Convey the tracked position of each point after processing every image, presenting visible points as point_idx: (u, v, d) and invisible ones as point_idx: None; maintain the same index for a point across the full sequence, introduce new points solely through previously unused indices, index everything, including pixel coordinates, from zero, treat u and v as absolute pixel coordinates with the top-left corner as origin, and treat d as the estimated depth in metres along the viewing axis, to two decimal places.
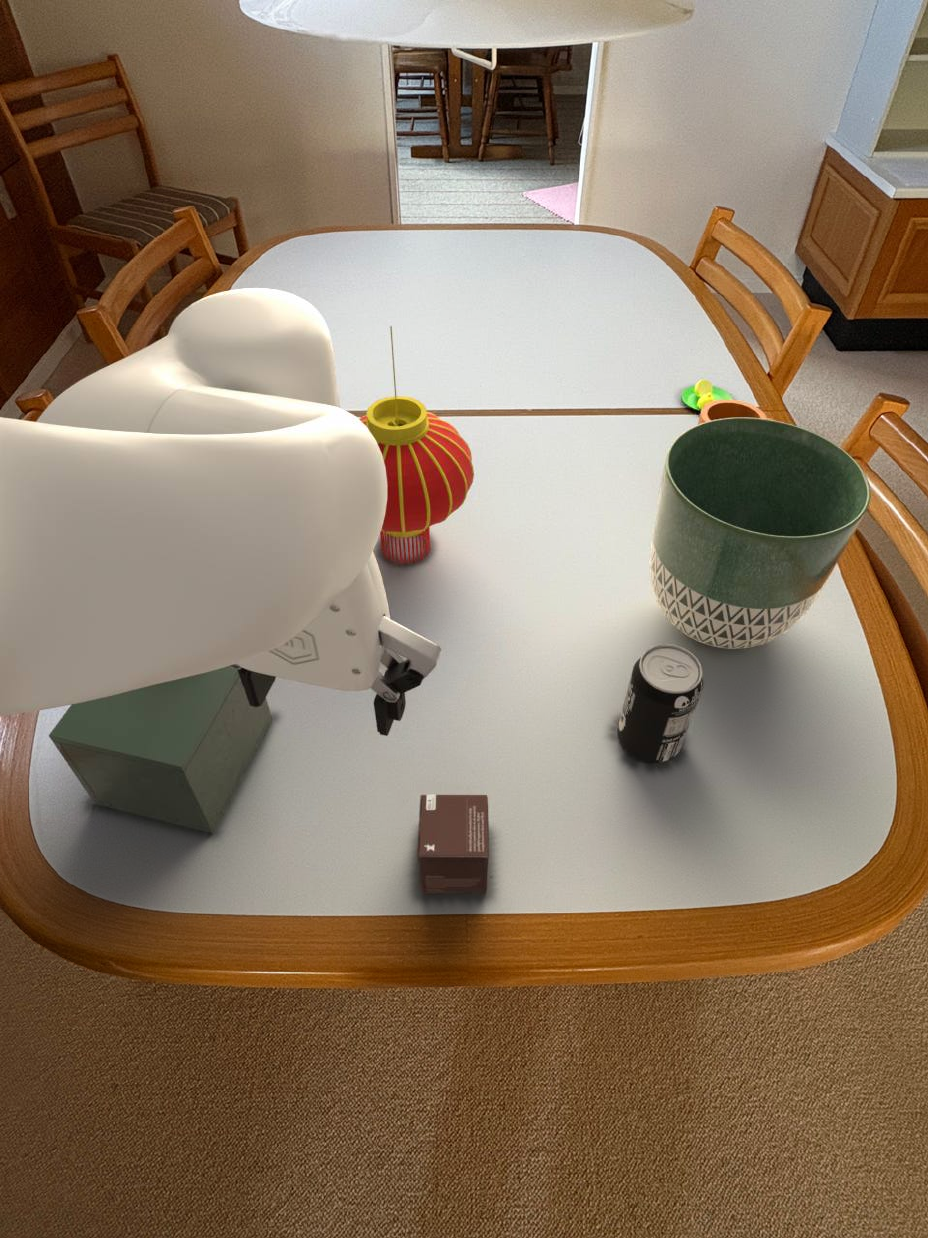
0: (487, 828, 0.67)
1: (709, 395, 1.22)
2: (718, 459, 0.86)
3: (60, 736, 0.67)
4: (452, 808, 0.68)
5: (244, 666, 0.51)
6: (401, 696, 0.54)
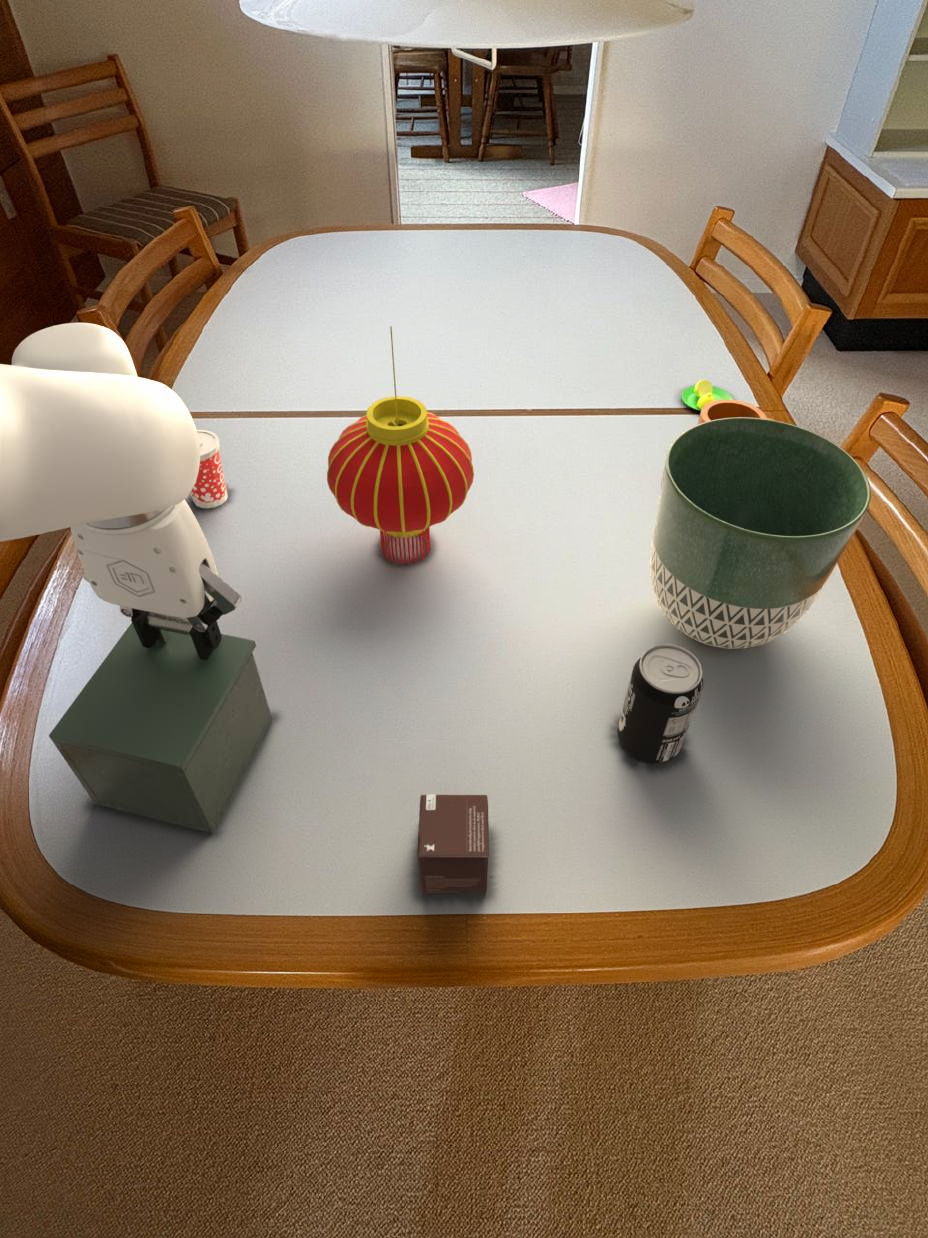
0: (487, 828, 0.67)
1: (709, 395, 1.22)
2: (718, 459, 0.86)
3: (60, 736, 0.67)
4: (452, 808, 0.68)
5: (105, 599, 0.67)
6: (214, 629, 0.72)
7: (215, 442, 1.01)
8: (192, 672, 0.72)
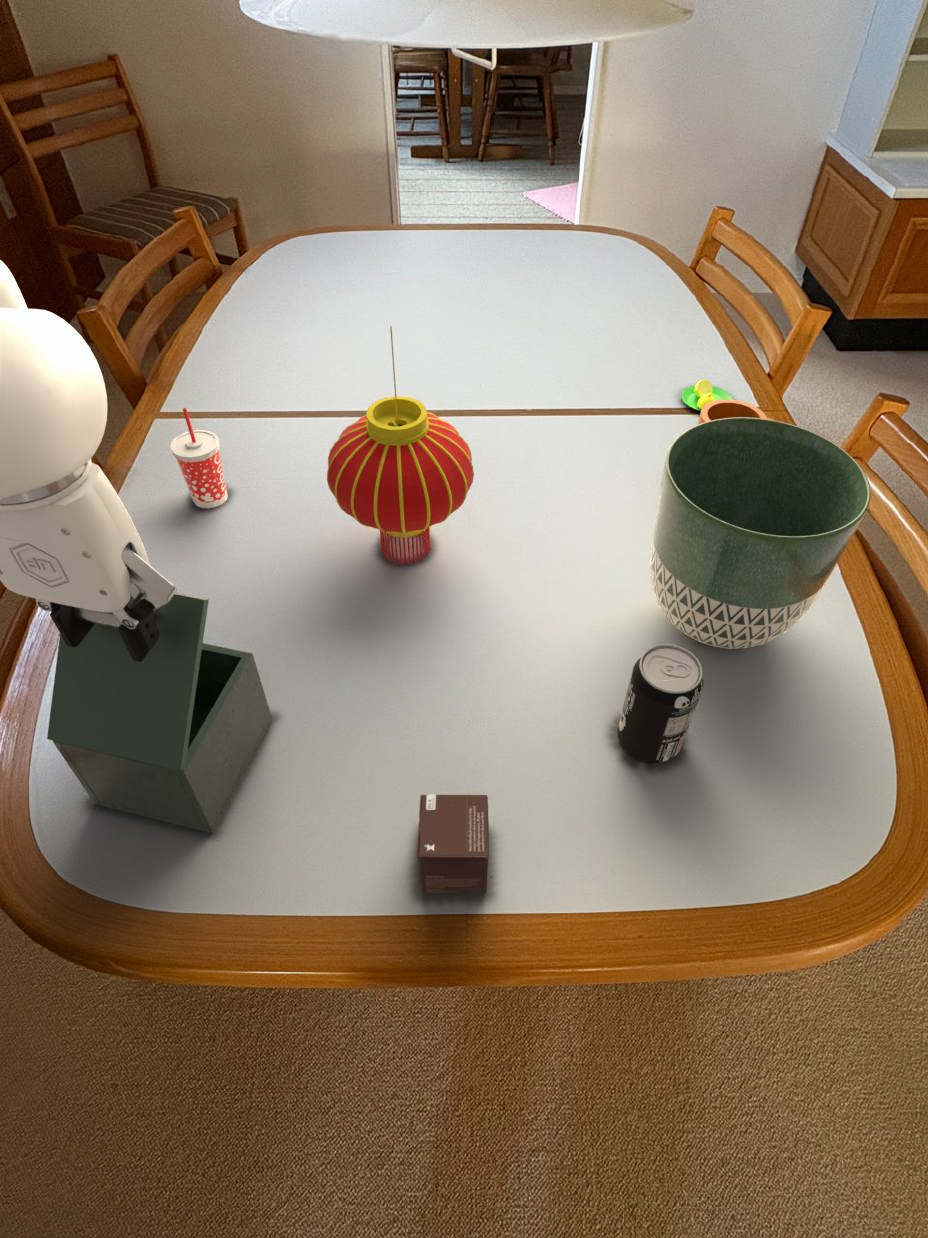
0: (487, 828, 0.67)
1: (709, 395, 1.22)
2: (718, 459, 0.86)
3: (58, 740, 0.67)
4: (452, 808, 0.68)
5: (15, 591, 0.57)
6: (149, 626, 0.61)
7: (215, 442, 1.02)
8: (152, 651, 0.65)
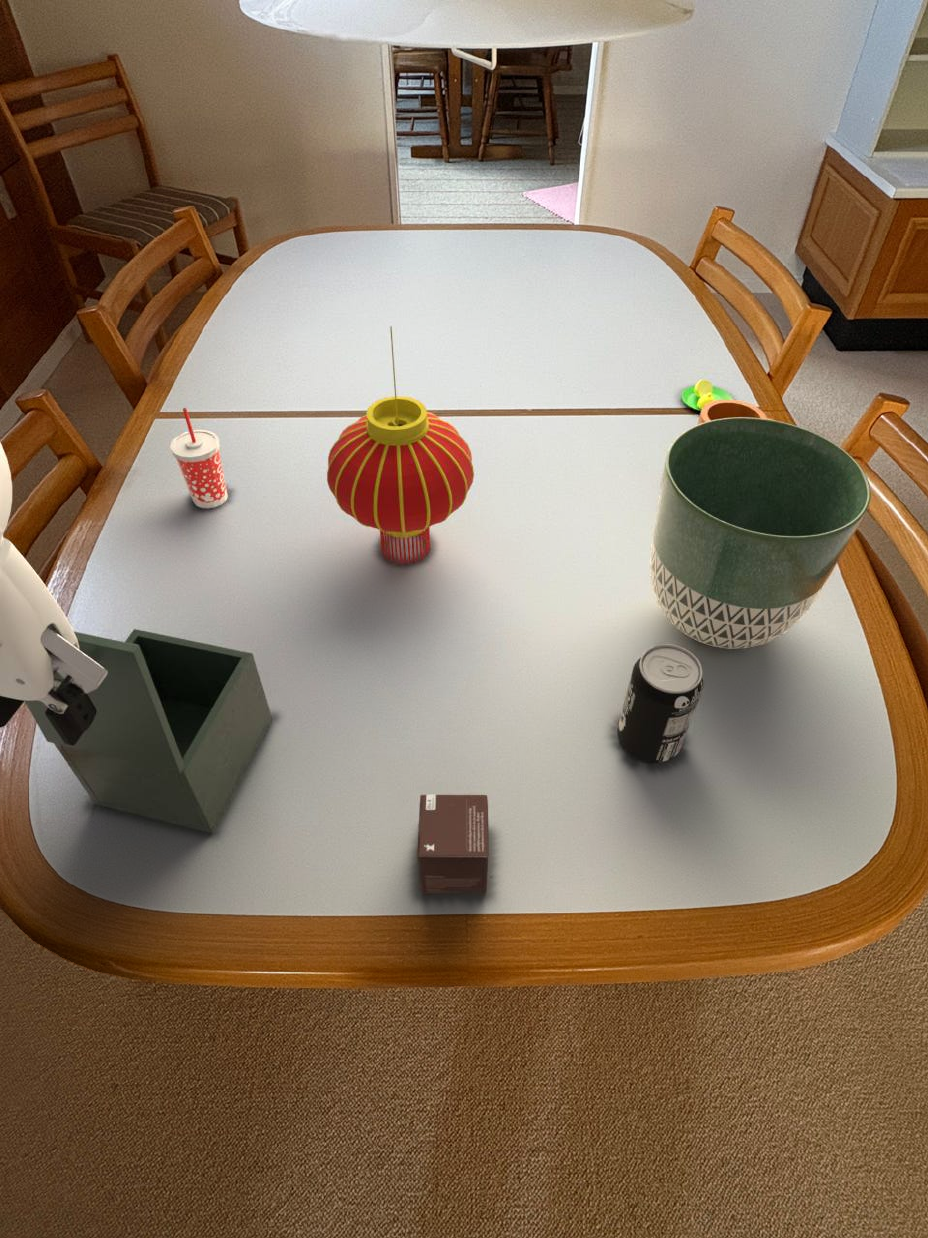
0: (487, 828, 0.67)
1: (709, 395, 1.22)
2: (718, 459, 0.86)
3: (57, 743, 0.67)
4: (452, 808, 0.68)
5: None
6: (81, 707, 0.55)
7: (215, 442, 1.02)
8: (105, 689, 0.60)
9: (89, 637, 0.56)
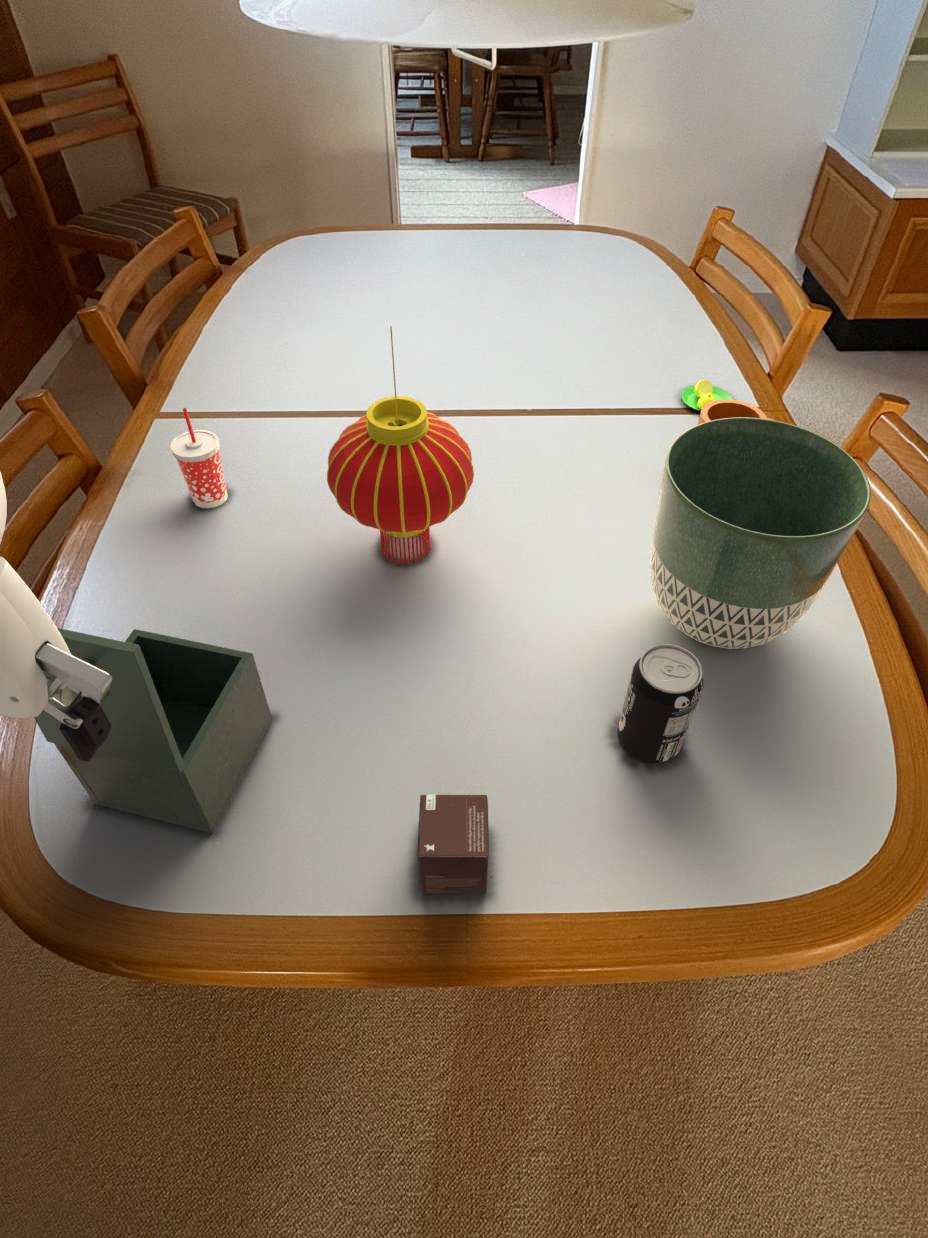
0: (487, 828, 0.67)
1: (709, 395, 1.22)
2: (718, 459, 0.86)
3: (57, 743, 0.67)
4: (452, 808, 0.68)
5: None
6: (96, 722, 0.53)
7: (215, 442, 1.02)
8: None
9: (89, 637, 0.56)
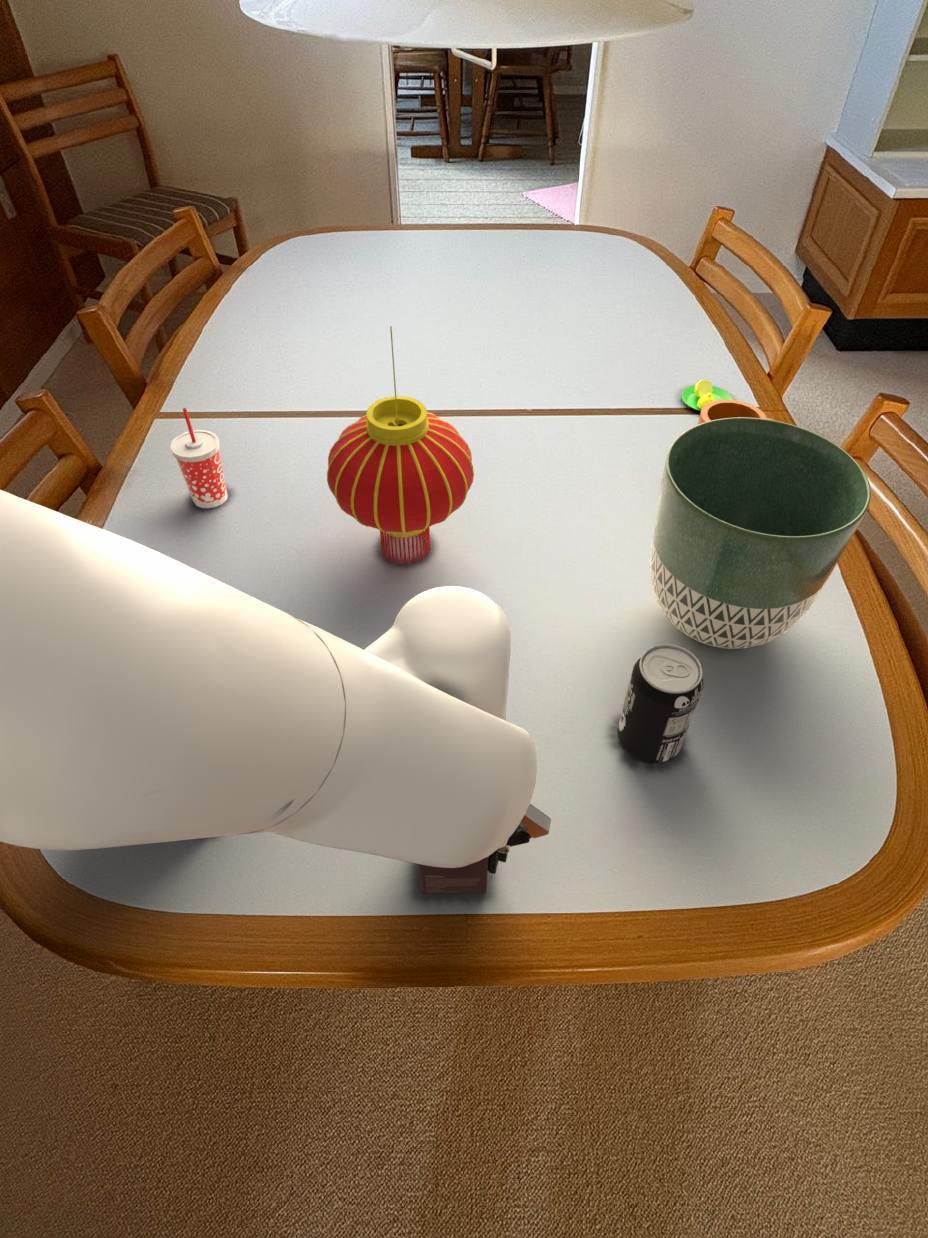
0: None
1: (709, 395, 1.22)
2: (718, 459, 0.86)
3: None
4: None
5: None
6: None
7: (215, 442, 1.02)
8: None
9: None
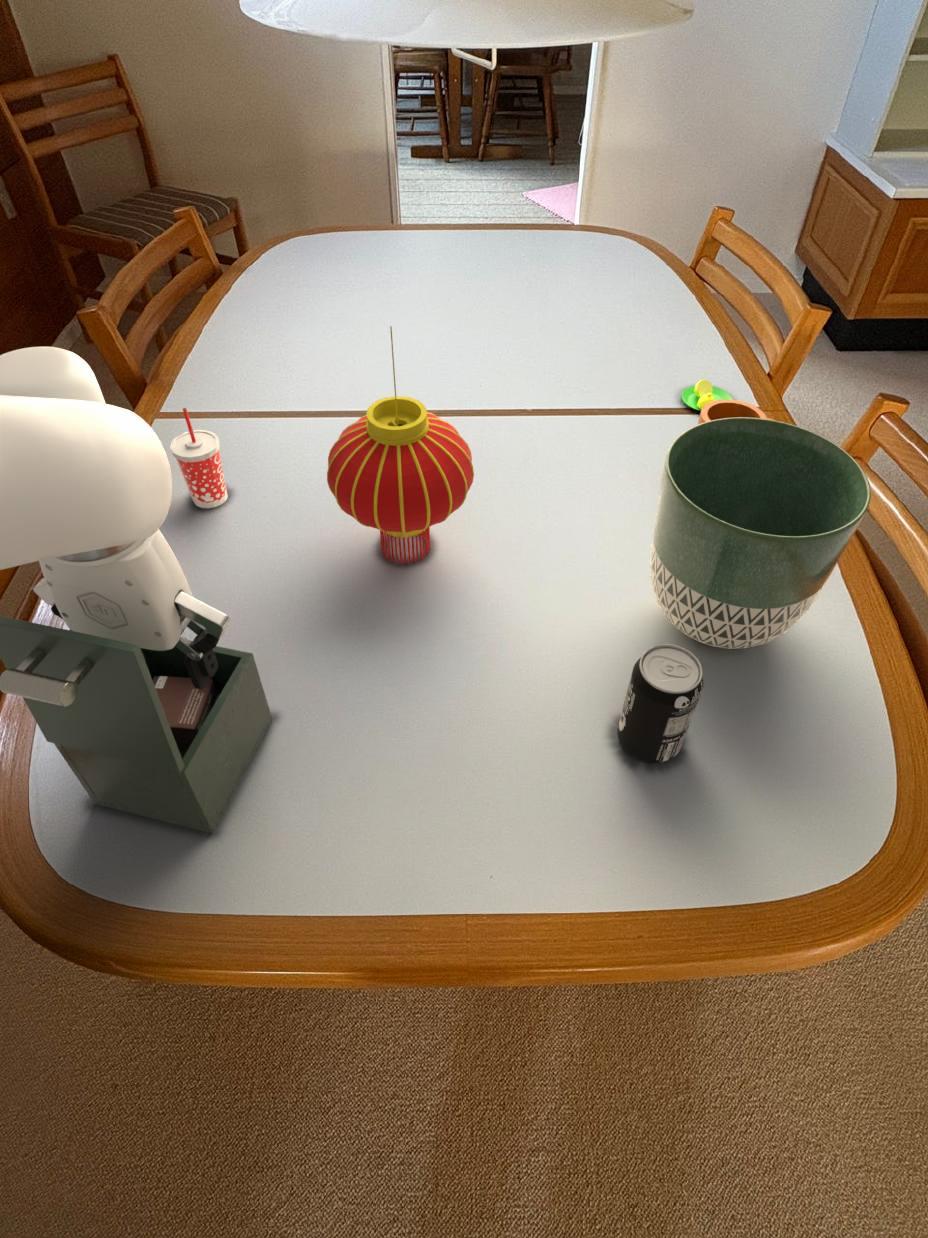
0: (202, 706, 0.74)
1: (709, 395, 1.22)
2: (718, 459, 0.86)
3: (57, 743, 0.67)
4: (177, 687, 0.75)
5: (77, 631, 0.65)
6: (210, 657, 0.68)
7: (215, 442, 1.02)
8: (105, 689, 0.60)
9: (89, 637, 0.56)
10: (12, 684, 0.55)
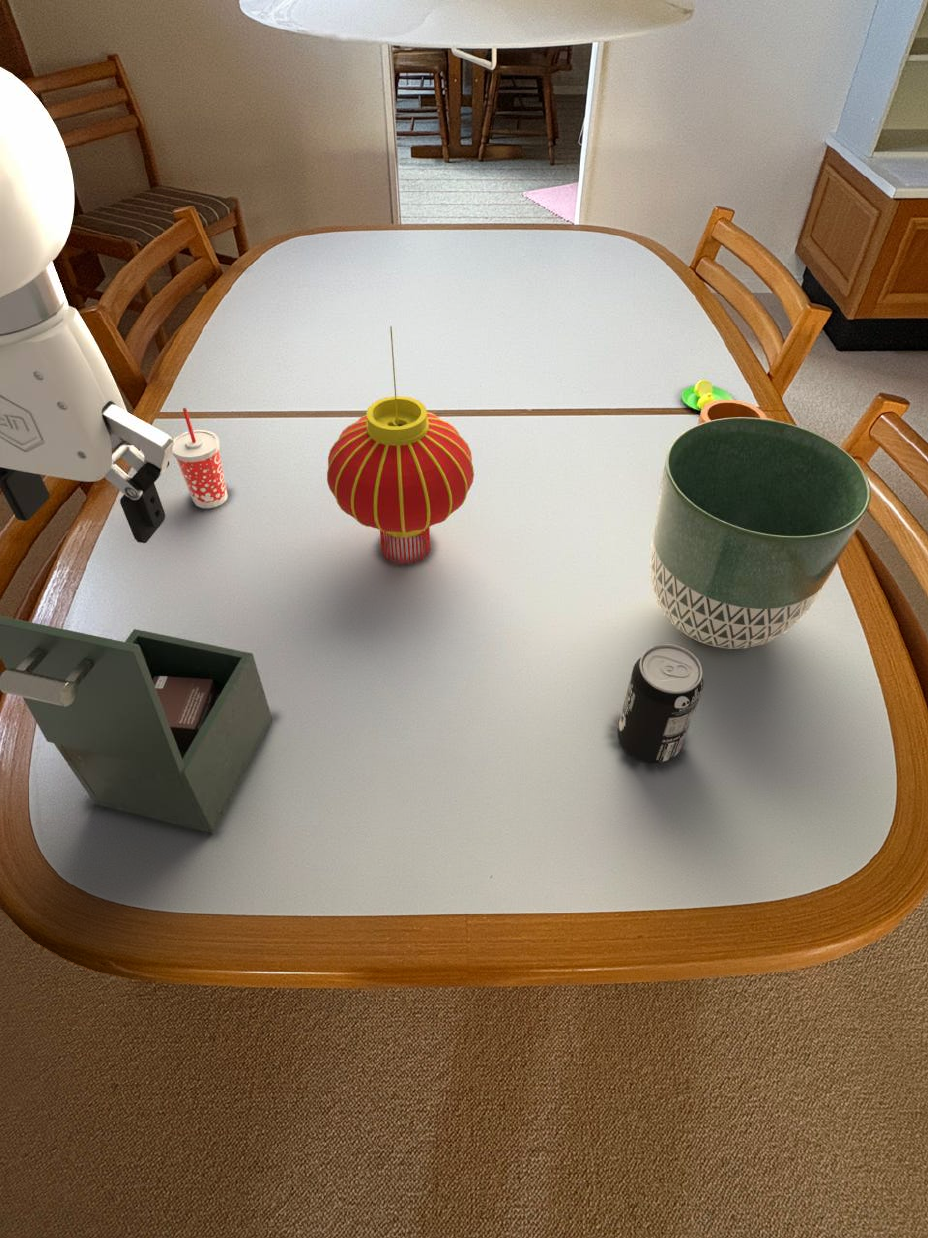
0: (202, 706, 0.74)
1: (709, 395, 1.22)
2: (718, 459, 0.86)
3: (57, 743, 0.67)
4: (177, 687, 0.75)
5: None
6: (154, 501, 0.55)
7: (215, 442, 1.02)
8: (105, 689, 0.60)
9: (89, 637, 0.56)
10: (12, 684, 0.55)
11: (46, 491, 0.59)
